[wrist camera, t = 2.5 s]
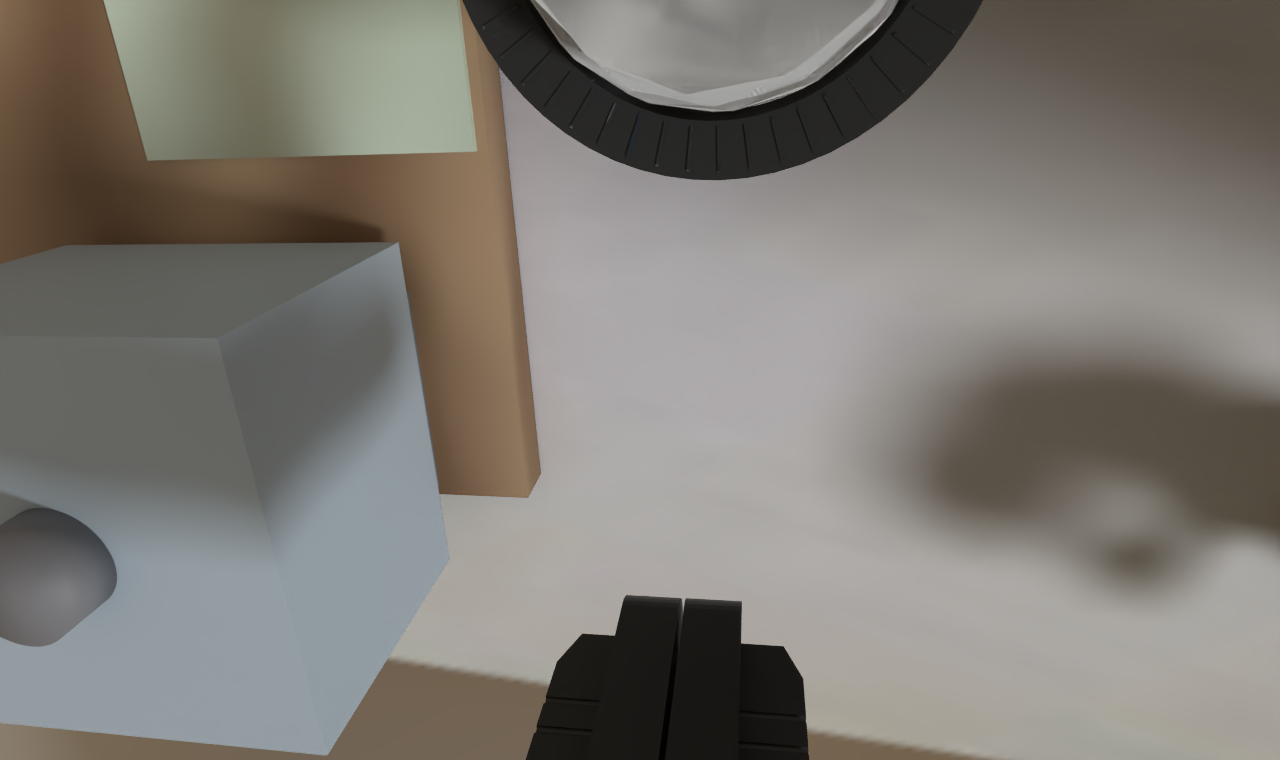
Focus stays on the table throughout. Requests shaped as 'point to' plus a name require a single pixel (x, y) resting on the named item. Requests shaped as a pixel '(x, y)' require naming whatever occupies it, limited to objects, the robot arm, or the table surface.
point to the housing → (209, 488)
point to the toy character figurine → (718, 73)
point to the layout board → (290, 169)
